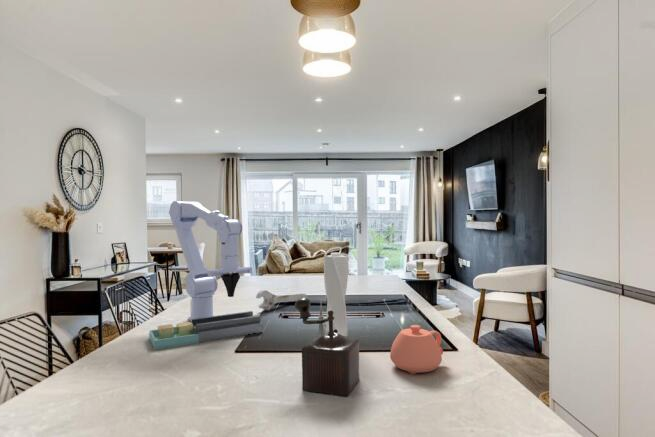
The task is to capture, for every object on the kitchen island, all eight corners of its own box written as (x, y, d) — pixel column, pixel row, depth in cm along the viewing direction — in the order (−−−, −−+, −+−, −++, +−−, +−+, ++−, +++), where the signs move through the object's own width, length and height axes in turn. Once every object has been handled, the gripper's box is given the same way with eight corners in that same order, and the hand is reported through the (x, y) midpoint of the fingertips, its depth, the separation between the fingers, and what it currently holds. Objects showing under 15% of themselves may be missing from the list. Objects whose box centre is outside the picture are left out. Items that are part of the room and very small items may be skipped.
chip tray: (149, 338, 127) (149, 330, 127) (189, 332, 133) (189, 324, 133) (154, 349, 117) (154, 340, 117) (198, 342, 123) (198, 334, 123)
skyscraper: (327, 337, 128) (326, 246, 128) (352, 339, 126) (351, 246, 125) (317, 345, 120) (316, 248, 120) (344, 348, 118) (343, 249, 117)
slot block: (189, 332, 133) (189, 317, 133) (250, 323, 143) (249, 309, 143) (198, 342, 123) (198, 326, 123) (262, 332, 133) (262, 317, 133)
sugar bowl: (381, 362, 105) (381, 322, 105) (428, 355, 110) (428, 316, 110) (407, 380, 94) (407, 335, 94) (458, 371, 99) (458, 328, 99)
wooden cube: (176, 336, 127) (176, 323, 127) (189, 334, 129) (189, 321, 129) (179, 340, 124) (179, 326, 124) (193, 337, 126) (193, 324, 126)
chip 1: (171, 337, 127) (157, 339, 125) (171, 324, 126) (157, 326, 125) (174, 340, 123) (159, 342, 121) (173, 327, 123) (159, 329, 121)
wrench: (306, 306, 183) (258, 312, 158) (302, 305, 184) (254, 311, 159) (307, 287, 183) (259, 290, 159) (303, 287, 184) (256, 290, 160)
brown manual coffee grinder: (361, 377, 96) (361, 299, 96) (347, 398, 85) (346, 310, 85) (299, 369, 101) (298, 295, 101) (279, 388, 91) (278, 305, 90)
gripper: (211, 258, 131) (211, 301, 132) (255, 255, 139) (255, 295, 139) (205, 256, 138) (206, 297, 138) (247, 253, 145) (248, 292, 145)
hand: (230, 296), depth 139 cm, fingers closed
